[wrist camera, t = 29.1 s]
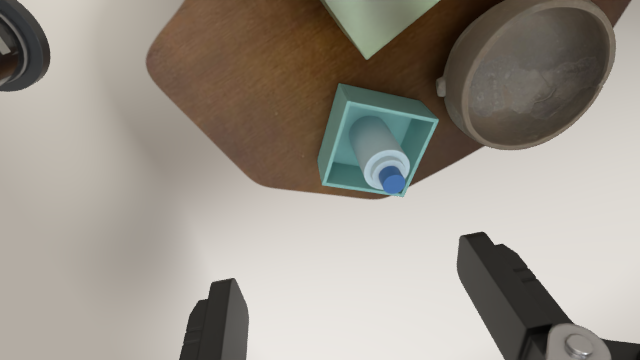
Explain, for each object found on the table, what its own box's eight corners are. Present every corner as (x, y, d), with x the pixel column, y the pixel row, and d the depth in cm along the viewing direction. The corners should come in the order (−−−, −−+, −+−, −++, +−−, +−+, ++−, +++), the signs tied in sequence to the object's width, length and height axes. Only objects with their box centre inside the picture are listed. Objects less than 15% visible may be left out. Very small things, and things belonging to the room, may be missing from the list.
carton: (316, 160, 52) (321, 185, 46) (338, 82, 45) (347, 100, 40) (390, 172, 54) (403, 197, 49) (420, 100, 48) (439, 119, 43)
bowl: (407, 107, 48) (434, 139, 40) (469, -37, 39) (522, -34, 31) (509, 132, 53) (552, 166, 44) (586, 7, 44) (660, 20, 35)
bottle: (347, 151, 51) (367, 205, 40) (350, 115, 48) (372, 164, 37) (384, 150, 51) (414, 203, 41) (389, 115, 48) (422, 162, 37)
